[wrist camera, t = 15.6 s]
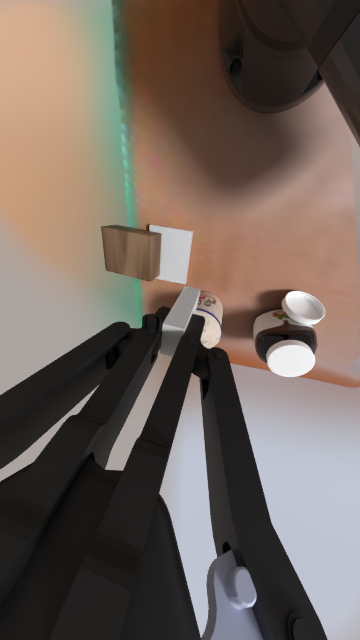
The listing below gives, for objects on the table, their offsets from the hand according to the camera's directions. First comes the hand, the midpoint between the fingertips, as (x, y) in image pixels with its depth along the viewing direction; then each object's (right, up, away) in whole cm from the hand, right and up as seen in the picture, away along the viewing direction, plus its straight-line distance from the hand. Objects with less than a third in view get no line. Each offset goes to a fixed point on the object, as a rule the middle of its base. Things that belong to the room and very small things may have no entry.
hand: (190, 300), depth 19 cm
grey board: (-3, +11, +20) cm, 23 cm away
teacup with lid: (+3, 0, +25) cm, 25 cm away
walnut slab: (-5, +10, +17) cm, 21 cm away
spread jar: (+20, -1, +21) cm, 29 cm away
